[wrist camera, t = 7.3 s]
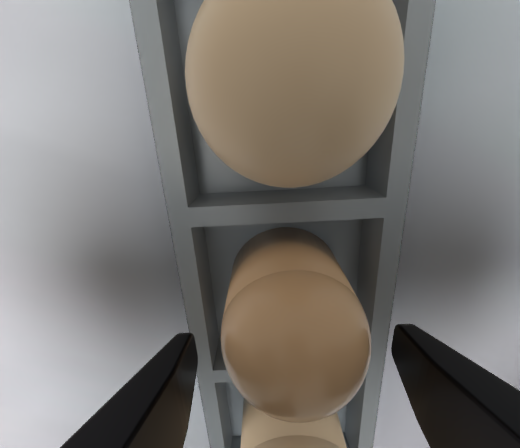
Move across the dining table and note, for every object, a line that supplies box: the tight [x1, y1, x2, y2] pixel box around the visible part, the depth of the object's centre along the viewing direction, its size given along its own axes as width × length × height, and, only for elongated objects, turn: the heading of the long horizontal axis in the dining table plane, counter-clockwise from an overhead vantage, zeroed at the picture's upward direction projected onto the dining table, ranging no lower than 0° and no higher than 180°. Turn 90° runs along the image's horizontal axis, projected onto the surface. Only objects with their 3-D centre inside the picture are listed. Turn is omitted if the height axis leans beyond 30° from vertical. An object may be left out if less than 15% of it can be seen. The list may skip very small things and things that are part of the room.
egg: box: [220, 227, 371, 423], centre depth 8 cm, size 4×4×5 cm
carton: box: [129, 0, 436, 448], centre depth 8 cm, size 19×7×6 cm, turn 3°
